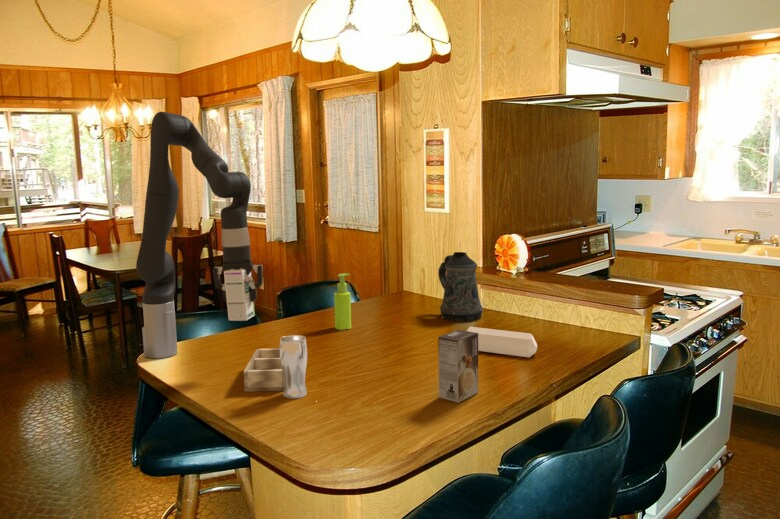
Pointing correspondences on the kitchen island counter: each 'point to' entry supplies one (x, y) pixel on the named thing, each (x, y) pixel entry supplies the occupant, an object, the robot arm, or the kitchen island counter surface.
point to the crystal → (505, 342)
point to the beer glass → (293, 365)
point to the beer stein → (459, 288)
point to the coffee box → (458, 365)
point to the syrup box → (238, 295)
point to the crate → (264, 371)
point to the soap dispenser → (342, 305)
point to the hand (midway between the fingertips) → (240, 301)
